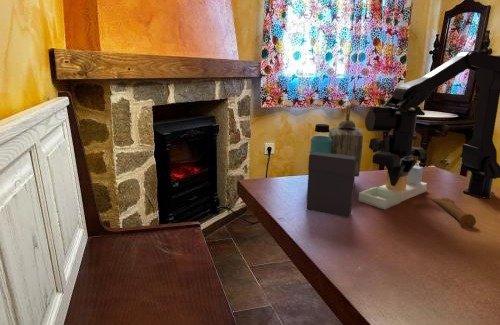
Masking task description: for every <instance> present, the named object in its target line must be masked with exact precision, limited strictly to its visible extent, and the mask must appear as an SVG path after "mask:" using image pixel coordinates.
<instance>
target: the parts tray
mask: <svg viewBox="0 0 500 325" xmlns="http://www.w3.org/2000/svg"><path fill="white" fill-rule="evenodd" d="M358 201H359V202H360V203H363V204H367V205H370V206H373V207H375V208H379V209H380V210H384V211H385V210H388V209H390V208H392V207H395V206H397V205H400V204H401V203H402V201H401V194H398V193H394V192H391V191H388V190H384V189H381V188H379V186H378V187H377V186H374V187H371V188H368V189H366V190H362V191H360V192H358Z"/></svg>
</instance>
